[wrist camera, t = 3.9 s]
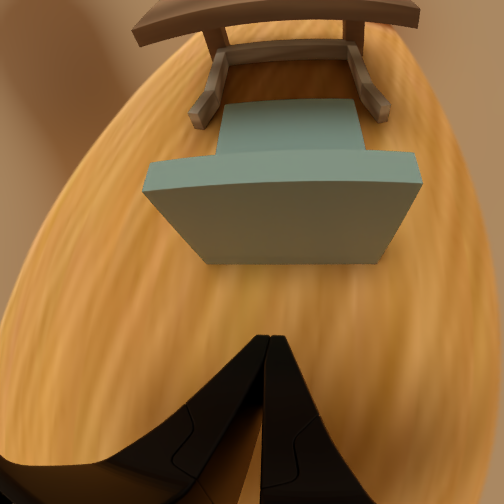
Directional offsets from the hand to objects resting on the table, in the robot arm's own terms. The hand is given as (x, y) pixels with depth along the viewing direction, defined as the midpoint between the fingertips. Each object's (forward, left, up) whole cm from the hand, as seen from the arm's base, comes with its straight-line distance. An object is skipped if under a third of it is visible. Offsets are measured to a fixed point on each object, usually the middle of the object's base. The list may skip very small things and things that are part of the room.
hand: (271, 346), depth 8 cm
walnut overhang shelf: (+13, -20, -9) cm, 26 cm away
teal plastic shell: (+7, -11, -9) cm, 15 cm away
